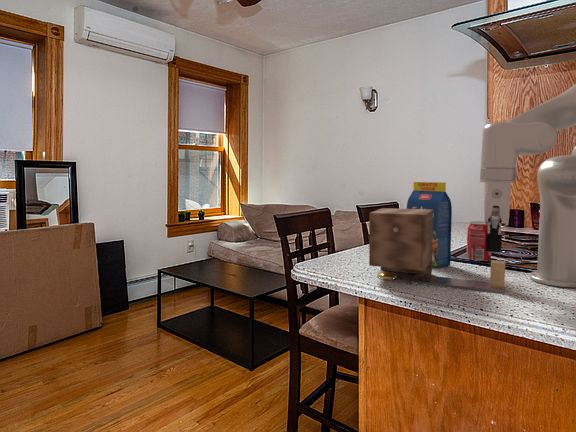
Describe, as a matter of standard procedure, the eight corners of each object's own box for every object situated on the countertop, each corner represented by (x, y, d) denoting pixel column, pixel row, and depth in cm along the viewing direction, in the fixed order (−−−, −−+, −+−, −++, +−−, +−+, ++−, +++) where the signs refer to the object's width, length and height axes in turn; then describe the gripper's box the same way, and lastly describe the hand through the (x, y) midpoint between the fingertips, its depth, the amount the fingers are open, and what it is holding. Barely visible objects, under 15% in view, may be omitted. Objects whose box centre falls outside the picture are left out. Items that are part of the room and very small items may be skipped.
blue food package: (436, 268, 118) (438, 182, 115) (405, 261, 128) (406, 182, 125) (450, 265, 121) (452, 182, 118) (419, 258, 131) (420, 181, 129)
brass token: (398, 277, 111) (398, 272, 110) (394, 281, 106) (394, 277, 106) (380, 275, 113) (380, 271, 113) (375, 279, 108) (375, 275, 108)
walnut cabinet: (431, 274, 112) (433, 209, 110) (423, 287, 99) (425, 215, 97) (381, 269, 118) (381, 208, 116) (368, 281, 106) (368, 213, 104)
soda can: (483, 257, 131) (485, 220, 129) (495, 262, 124) (497, 223, 122) (462, 258, 130) (463, 221, 129) (473, 263, 123) (474, 224, 122)
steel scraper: (503, 287, 100) (505, 259, 99) (504, 295, 94) (505, 265, 93) (416, 278, 109) (416, 252, 109) (411, 284, 103) (411, 257, 102)
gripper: (518, 176, 85) (512, 256, 87) (514, 176, 101) (509, 244, 102) (478, 176, 89) (474, 252, 90) (481, 176, 104) (477, 241, 106)
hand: (493, 248), depth 96 cm, fingers open, 9 cm apart
